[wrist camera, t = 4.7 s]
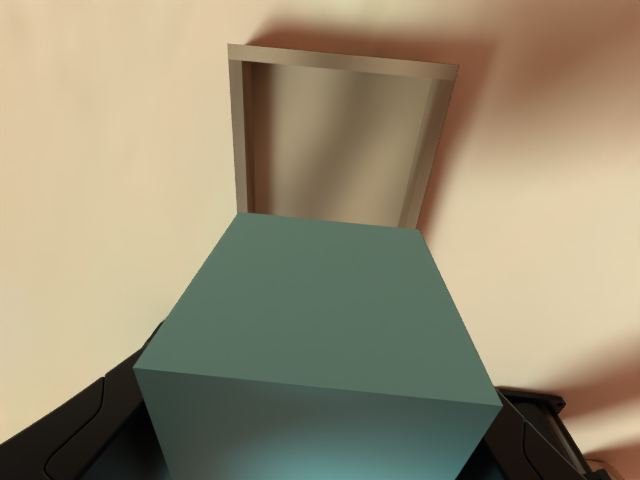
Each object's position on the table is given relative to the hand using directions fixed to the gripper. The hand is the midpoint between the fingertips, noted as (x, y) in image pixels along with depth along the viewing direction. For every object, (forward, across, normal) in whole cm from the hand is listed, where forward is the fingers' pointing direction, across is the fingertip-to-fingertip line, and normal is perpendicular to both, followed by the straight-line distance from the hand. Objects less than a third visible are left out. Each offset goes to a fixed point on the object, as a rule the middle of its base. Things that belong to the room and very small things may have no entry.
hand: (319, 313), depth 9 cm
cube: (+1, 0, 0) cm, 1 cm away
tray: (+11, 0, 0) cm, 11 cm away
